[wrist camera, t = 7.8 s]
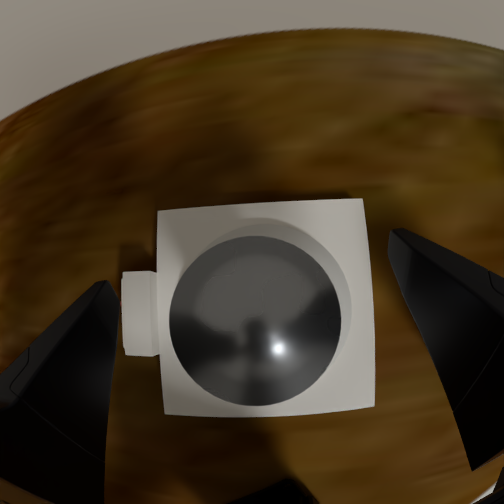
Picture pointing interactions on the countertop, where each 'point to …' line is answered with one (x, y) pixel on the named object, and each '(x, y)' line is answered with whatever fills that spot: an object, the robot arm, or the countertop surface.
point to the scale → (280, 227)
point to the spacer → (255, 321)
